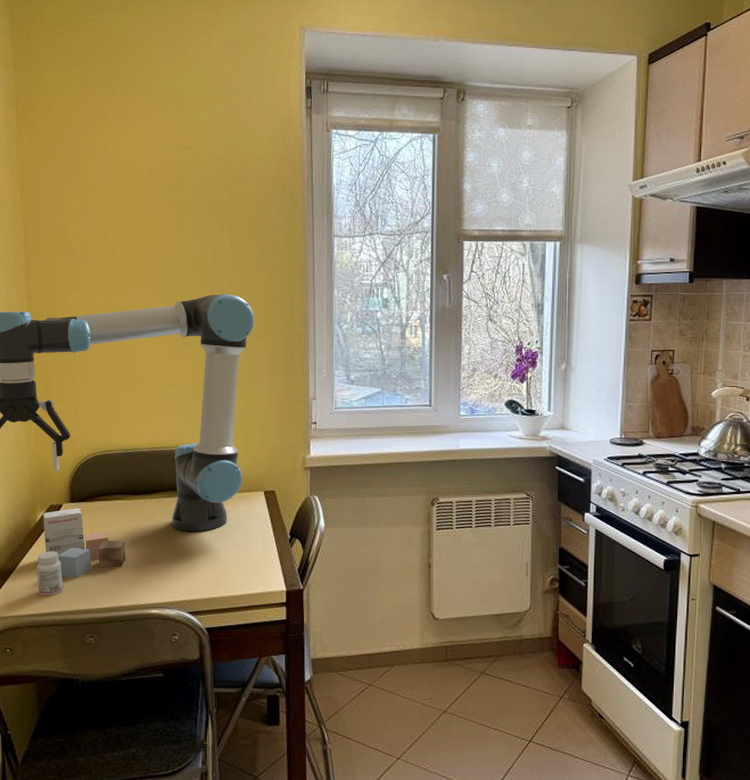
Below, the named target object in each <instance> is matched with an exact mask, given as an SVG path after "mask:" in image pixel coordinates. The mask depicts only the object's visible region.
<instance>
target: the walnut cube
mask: <svg viewBox="0 0 750 780" xmlns="http://www.w3.org/2000/svg"><path fill="white" fill-rule="evenodd" d="M126 558H127V557H126V545H125V539H119V540H118V539H117V540H116V539H115V540H108V541H103V542H102V544H101V546H100V547H99V558H98V560H99V569H100V570H101V569H111V568H113V567H115V568H123V566H122V565H124V564H125V561H126ZM123 563H124V564H123ZM113 569H114V568H113Z"/></svg>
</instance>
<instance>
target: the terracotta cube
mask: <svg viewBox="0 0 750 780" xmlns="http://www.w3.org/2000/svg"><path fill="white" fill-rule="evenodd" d="M84 538H85V549H89V550H90V558H91V560H95V559H99V547H100V546H101V544H102V542H103V541H109V536H108V531H107V530H105V531H98V532H92V533H85V536H84Z"/></svg>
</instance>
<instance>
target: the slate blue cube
mask: <svg viewBox="0 0 750 780" xmlns="http://www.w3.org/2000/svg"><path fill="white" fill-rule="evenodd" d="M58 557H59V558H58V560H59V561H60V563H61V573H62V577H63V578H65V577H66V578H75V579H77V578H80V577H81V576H82V575H85V574H86V573H87V572H90V571H91V570H92V561H91V560H92V559H91V558H90V550H89V549H86V548H85V549H79V548H71V549H69V550H67V551H65V552H63V553H61V554H59V555H58Z"/></svg>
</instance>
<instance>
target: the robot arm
mask: <svg viewBox="0 0 750 780" xmlns="http://www.w3.org/2000/svg"><path fill="white" fill-rule="evenodd" d="M254 316H255V315H254V313H253V310H252V308H251V306H250V305H249V303H247V301H246V300H244V299H243V298H242V297H240V296H237V295H233V294H229V293H228V294H224V293H223V294H209V295H206V296H202V297H198V298H194V299H189V300H183V301H182V300H181V301H176V303H175V304H174V305H171V306H169V305H168V306H159V307H152V308H151V307H150V308H141V309H132V310H121V311H113V312H112V311H111V312H103V313H94V314H85V315H84V314H83V315H75V316H65V317H47V318H46V319H43V320H39V319H38V320H37V319H33V318H32V316H31V313H30V312H29V311H0V414H1V415H2V416H1V417H0V429H2V428H3V426H4V425H5V423H7V421H8V422H10V423H17V422H21V423H26V422H29V421H31V422H32V423H34V424H36V425H37V426H38V427H39V428H40V429H41V430H42V431H43V433H45V434H46V435H48V436H49V438H51V439H52V443H51V447H52V448H51V451H52V462H53V463H52V464H53V472H58V471H59V469H60V463H59V457H62V455H63V454H64V449H63V448H64V447H63V442H65V441H67V440H69V439H70V437H71V433H70V432H69V430H68V428H67V426H65V423H64V422H63V421H62V419H61V418H60V416H59V414H58V413H57V411H56V410H55V407H54V403H53V399H47V400H45V401H44V400H43V401H39V400H38V397H37V384H36V383H37V382H36V381H35V380H34V379H35V378H36V370H35V369H36V367H35V358H34V355H35V354H46V353H47V354H49V353H50V354H51V353H55V354H56V353H78V352H79V353H80V352H85V351H86V352H87V351H88V350H89V348H90V346H91V345H96V344H97V345H98V344H99V345H100V344H104V343H114V342H123V341H133V340H138V339H139V340H140V339H148V338H155V337H163V336H164V337H165V336H171V335H174V336H175V335H180V337H182V338H185V337H200V344H199V345H200V346H201V348H202V349H203V350H204V352H205V357H204V360H205V361H204V374H203V389H202V405H201V417H200V428H199V429H200V431H199V432H200V433H199V442H195V443H188V444H187V443H186V444H181V445H178V446H177V447H176V449H175V456H174V460H175V473H176V474H175V475H176V489H177V490H176V493H177V494H176V496H177V499H176V503H175V506H174V509H173V514H172V516H171V520H172V521H171V525H172V527H173V528H174V529H176V530H179V531H184V532H203V531H208V530H212V529H217V528H220V527H221V526H223V525H225V524H226V523H227V522H228V512H227V509H226V507H225V504H224V502H226V501H229V500H231V499H232V498H233V497H234V496H235V495H236V494H237V493H238V492H239V490H240V488H241V486H242V482H243V474H242V471H241V469H240V467H239V465H238V459H239V458H238V454H239V450H238V449H237V447H236V446H235V445H234V433H235V431H234V429H235V418H236V417H235V416H236V405H237V391H238V389H237V388H238V376H239V364H240V362H239V361H240V354H241V353H243V351H245V350H246V348H247V337H248V336H249V335H250V334H251V333H252V330H253V328H254V324H255V317H254ZM39 408H42V409H43V411H45V412H46V413H47V415H48V417H50V419H51V421H52V422H53V424H54V426H55V427H56V429H57V430H58V431H59V433H60V434H59V433H58V432H57V431H56V430H55V429H54V428H53V427H51V425H49V424H48V423H47V422H46V421H45V420H44V419H43V418H42V417H41V415H40V414H39V413H37V411H38V410H39Z"/></svg>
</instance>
